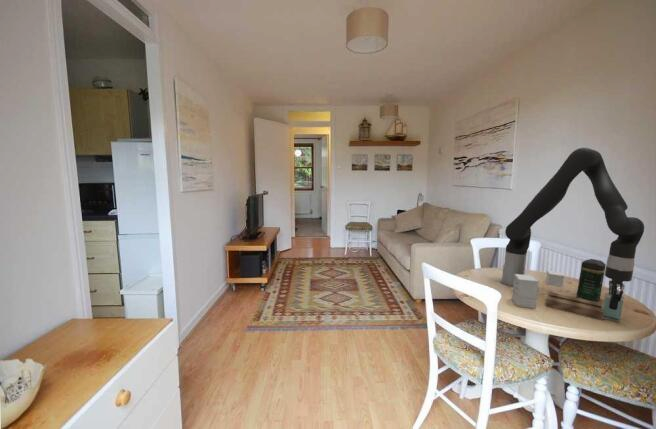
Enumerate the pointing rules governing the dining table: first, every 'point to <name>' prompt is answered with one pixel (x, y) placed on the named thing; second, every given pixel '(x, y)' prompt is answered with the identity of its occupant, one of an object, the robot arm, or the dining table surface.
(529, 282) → the supplement box
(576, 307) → the wooden slotted block
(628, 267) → the robot arm
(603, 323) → the dining table surface
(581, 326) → the dining table surface
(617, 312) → the stub
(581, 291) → the coffee jar
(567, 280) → the dining table surface
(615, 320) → the mat
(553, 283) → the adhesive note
